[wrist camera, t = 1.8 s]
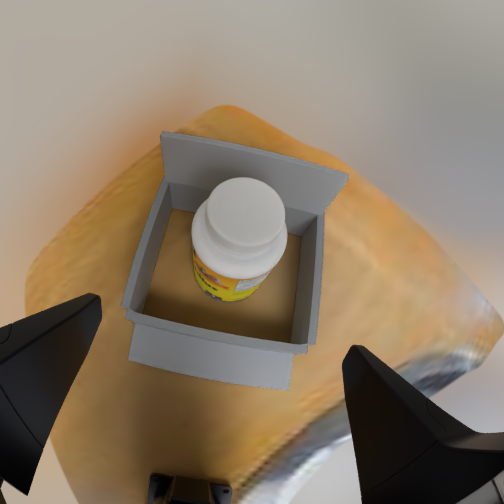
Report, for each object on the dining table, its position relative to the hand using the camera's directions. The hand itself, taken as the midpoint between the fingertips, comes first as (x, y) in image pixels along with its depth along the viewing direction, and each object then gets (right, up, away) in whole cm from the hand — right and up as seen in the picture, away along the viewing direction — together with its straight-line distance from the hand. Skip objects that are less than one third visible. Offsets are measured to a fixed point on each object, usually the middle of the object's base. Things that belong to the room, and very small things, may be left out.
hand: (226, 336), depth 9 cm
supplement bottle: (-1, +1, +14) cm, 14 cm away
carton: (-1, 0, +13) cm, 13 cm away
